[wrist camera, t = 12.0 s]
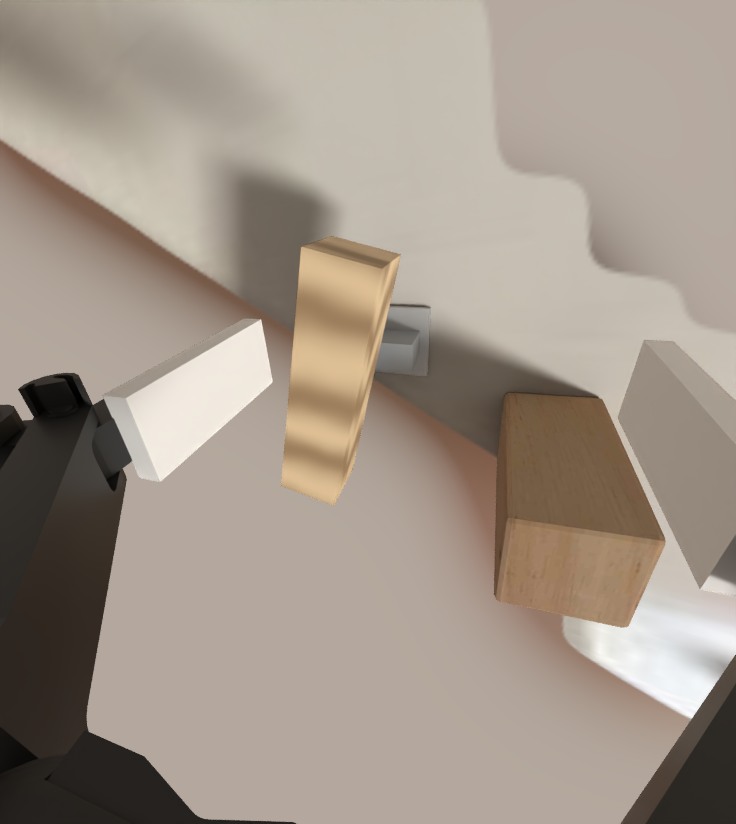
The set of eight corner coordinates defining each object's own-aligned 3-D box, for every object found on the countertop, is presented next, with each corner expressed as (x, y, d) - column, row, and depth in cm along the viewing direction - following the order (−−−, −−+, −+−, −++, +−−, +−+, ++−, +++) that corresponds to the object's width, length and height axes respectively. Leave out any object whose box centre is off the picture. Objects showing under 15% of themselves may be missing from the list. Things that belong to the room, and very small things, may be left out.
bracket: (311, 302, 45) (274, 326, 38) (430, 307, 41) (415, 335, 34) (319, 365, 49) (286, 398, 42) (427, 374, 45) (413, 412, 38)
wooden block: (496, 460, 49) (493, 602, 32) (504, 390, 44) (505, 517, 27) (584, 470, 46) (629, 632, 30) (603, 396, 41) (670, 542, 25)
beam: (332, 236, 32) (301, 246, 27) (401, 254, 31) (381, 268, 26) (305, 452, 45) (281, 485, 40) (352, 469, 44) (333, 505, 39)
